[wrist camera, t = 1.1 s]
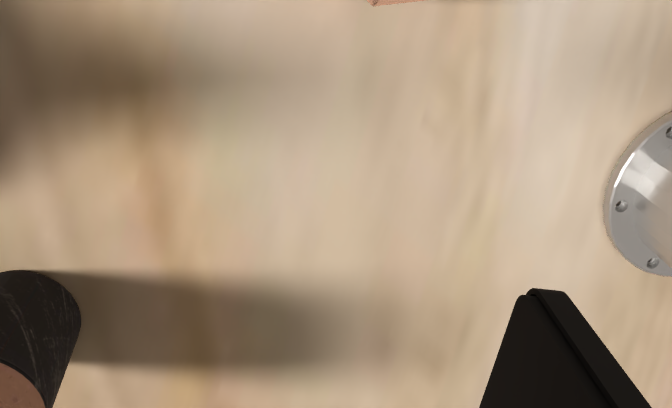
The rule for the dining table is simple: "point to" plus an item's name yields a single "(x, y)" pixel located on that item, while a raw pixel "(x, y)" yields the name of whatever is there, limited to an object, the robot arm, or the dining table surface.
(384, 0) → the cup
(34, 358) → the travel mug
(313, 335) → the dining table surface
